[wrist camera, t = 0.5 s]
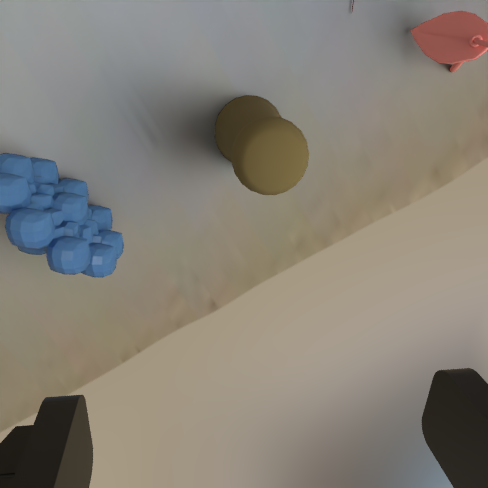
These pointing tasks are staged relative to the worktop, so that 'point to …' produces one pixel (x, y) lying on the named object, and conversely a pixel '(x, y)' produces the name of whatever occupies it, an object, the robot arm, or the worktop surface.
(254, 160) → the cork
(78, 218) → the grapes
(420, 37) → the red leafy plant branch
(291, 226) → the worktop surface
